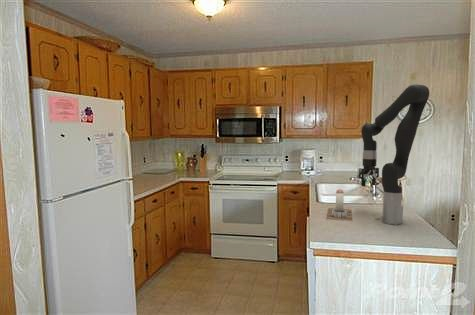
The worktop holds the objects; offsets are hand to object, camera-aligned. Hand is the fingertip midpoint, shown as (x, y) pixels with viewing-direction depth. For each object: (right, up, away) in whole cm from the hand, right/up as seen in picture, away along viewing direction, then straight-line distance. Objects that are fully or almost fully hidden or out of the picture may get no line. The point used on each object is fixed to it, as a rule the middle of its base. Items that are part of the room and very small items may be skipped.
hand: (368, 185), depth 189 cm
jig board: (-16, -18, +2) cm, 25 cm away
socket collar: (-18, -18, -2) cm, 25 cm away
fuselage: (-15, -17, +7) cm, 23 cm away
